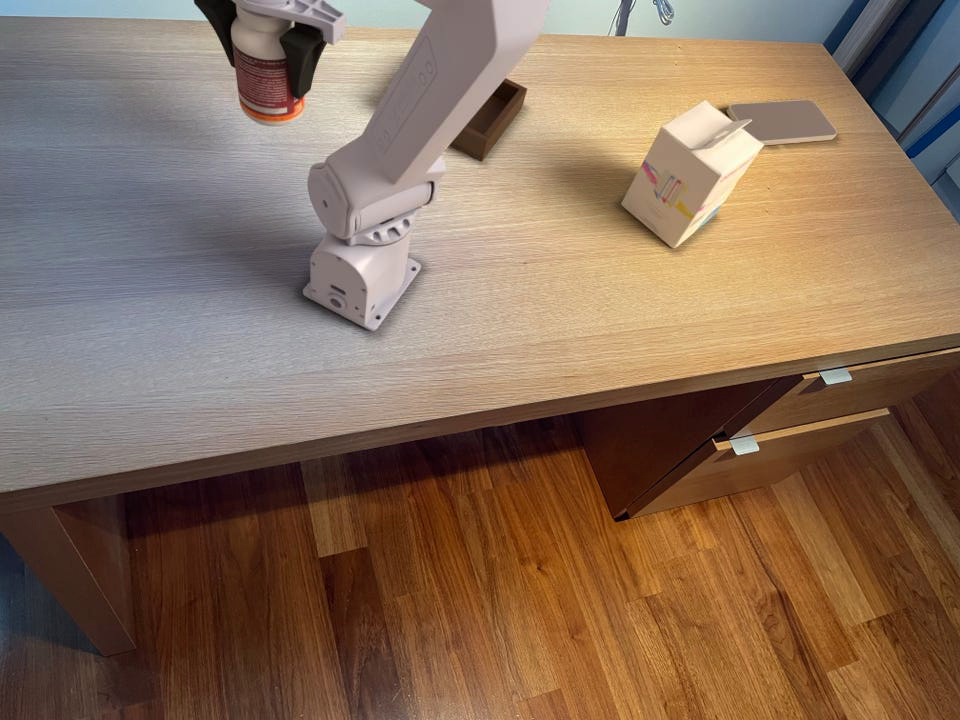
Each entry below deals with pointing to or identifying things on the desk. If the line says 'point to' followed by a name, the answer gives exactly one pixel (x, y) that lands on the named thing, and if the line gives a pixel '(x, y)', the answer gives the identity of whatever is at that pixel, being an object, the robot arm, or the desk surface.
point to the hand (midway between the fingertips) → (271, 77)
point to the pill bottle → (263, 69)
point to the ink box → (690, 172)
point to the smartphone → (783, 121)
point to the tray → (491, 120)
